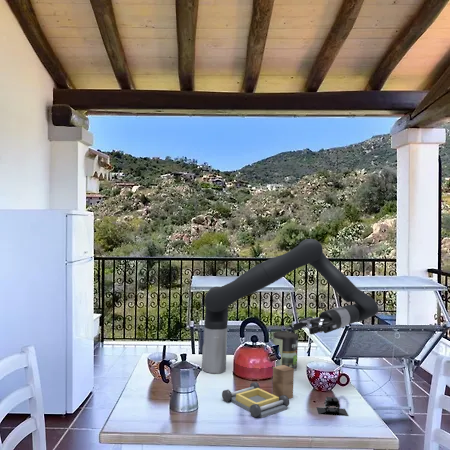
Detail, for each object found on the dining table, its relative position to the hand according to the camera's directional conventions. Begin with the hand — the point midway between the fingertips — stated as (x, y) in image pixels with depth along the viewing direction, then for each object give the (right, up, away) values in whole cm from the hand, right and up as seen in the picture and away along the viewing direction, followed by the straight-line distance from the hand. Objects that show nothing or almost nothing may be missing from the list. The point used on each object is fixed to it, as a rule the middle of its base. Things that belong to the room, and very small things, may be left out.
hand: (301, 329), depth 155 cm
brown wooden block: (-7, -22, -4) cm, 24 cm away
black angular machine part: (+7, -24, -15) cm, 29 cm away
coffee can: (-2, -23, +27) cm, 35 cm away
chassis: (-17, -22, -11) cm, 30 cm away
